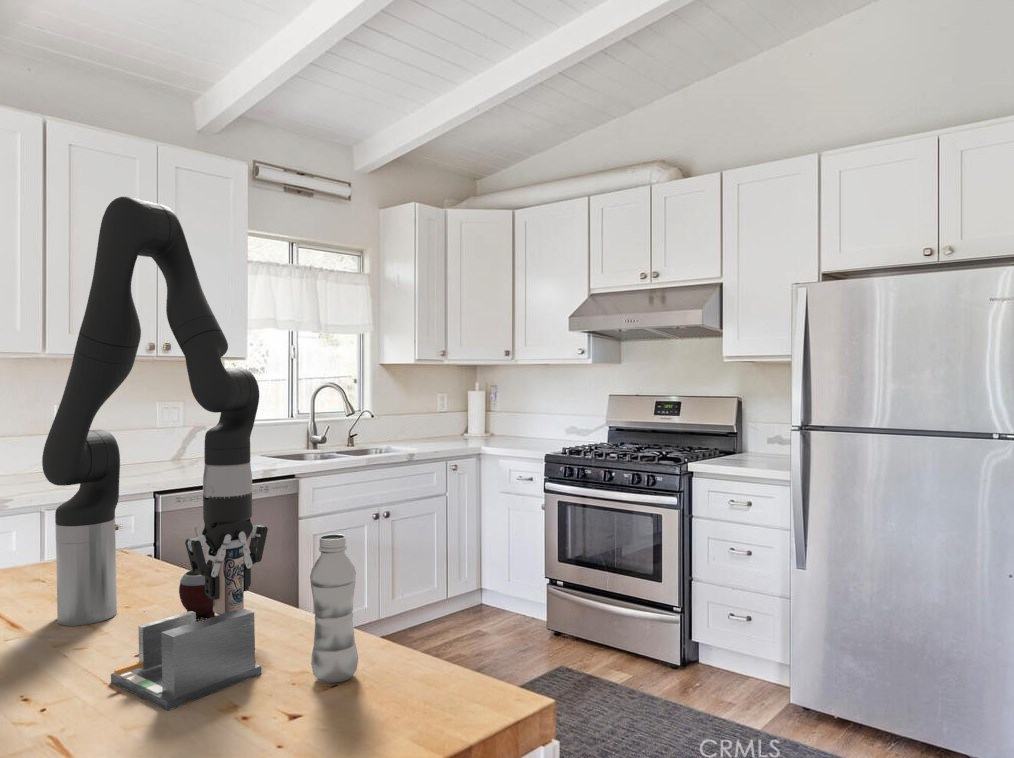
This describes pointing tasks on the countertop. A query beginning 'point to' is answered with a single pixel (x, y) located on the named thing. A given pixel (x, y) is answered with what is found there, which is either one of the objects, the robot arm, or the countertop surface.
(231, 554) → the beer can
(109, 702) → the countertop surface
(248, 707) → the countertop surface
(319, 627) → the plastic bottle
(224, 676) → the gauge base
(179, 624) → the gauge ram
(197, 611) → the mate gourd
